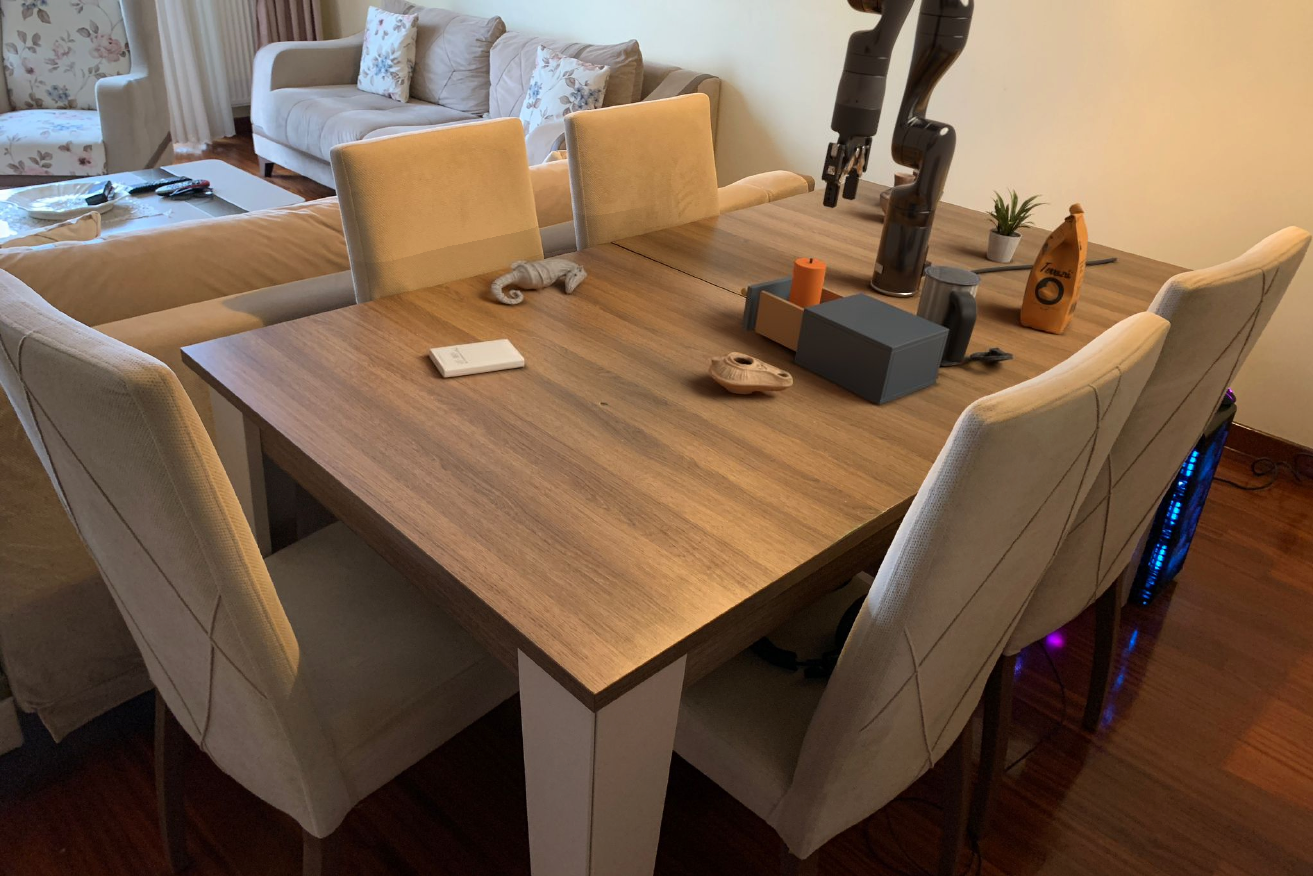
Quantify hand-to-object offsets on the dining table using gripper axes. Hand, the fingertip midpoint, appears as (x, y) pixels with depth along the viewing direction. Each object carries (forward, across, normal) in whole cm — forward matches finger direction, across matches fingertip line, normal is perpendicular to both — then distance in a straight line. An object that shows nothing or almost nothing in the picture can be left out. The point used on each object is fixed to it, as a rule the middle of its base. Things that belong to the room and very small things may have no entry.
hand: (839, 202), depth 155 cm
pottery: (+20, +87, +12) cm, 90 cm away
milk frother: (+22, +4, -25) cm, 34 cm away
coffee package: (+22, +35, -33) cm, 52 cm away
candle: (+20, -9, 0) cm, 22 cm away
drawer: (+22, -8, +1) cm, 23 cm away
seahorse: (+23, -22, +46) cm, 56 cm away
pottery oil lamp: (+23, -32, -3) cm, 40 cm away
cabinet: (+23, -13, -15) cm, 30 cm away
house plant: (+21, +70, -17) cm, 75 cm away
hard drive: (+24, -52, +34) cm, 67 cm away
